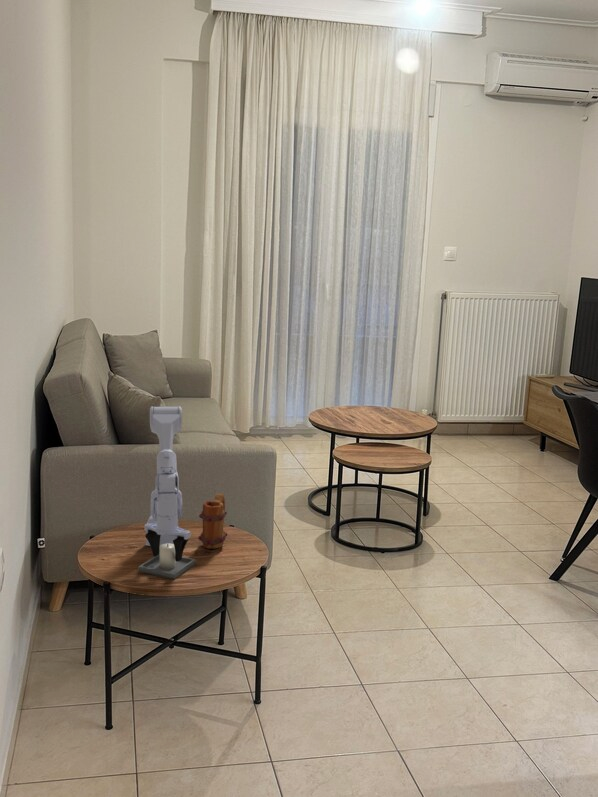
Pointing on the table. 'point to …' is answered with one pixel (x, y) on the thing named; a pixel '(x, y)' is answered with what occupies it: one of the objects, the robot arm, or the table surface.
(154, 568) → the tray
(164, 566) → the candle
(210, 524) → the mug
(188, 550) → the table surface
